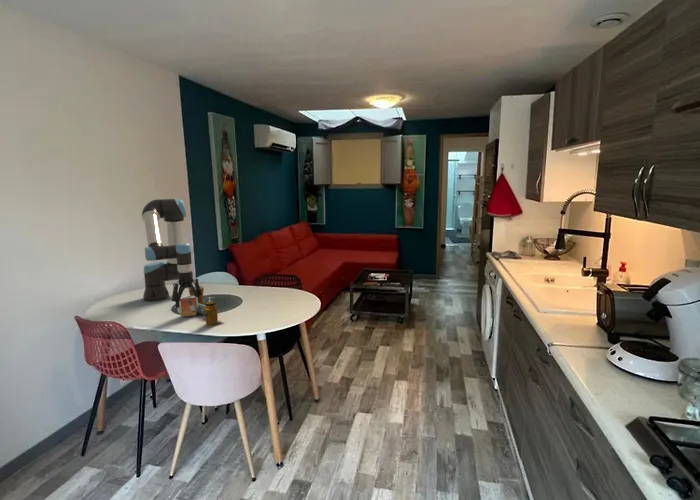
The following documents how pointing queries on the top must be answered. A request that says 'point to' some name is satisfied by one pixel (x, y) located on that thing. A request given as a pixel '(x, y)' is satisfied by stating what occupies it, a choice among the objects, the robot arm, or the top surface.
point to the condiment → (211, 314)
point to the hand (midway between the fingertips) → (188, 310)
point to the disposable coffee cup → (201, 292)
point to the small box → (188, 305)
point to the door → (201, 308)
